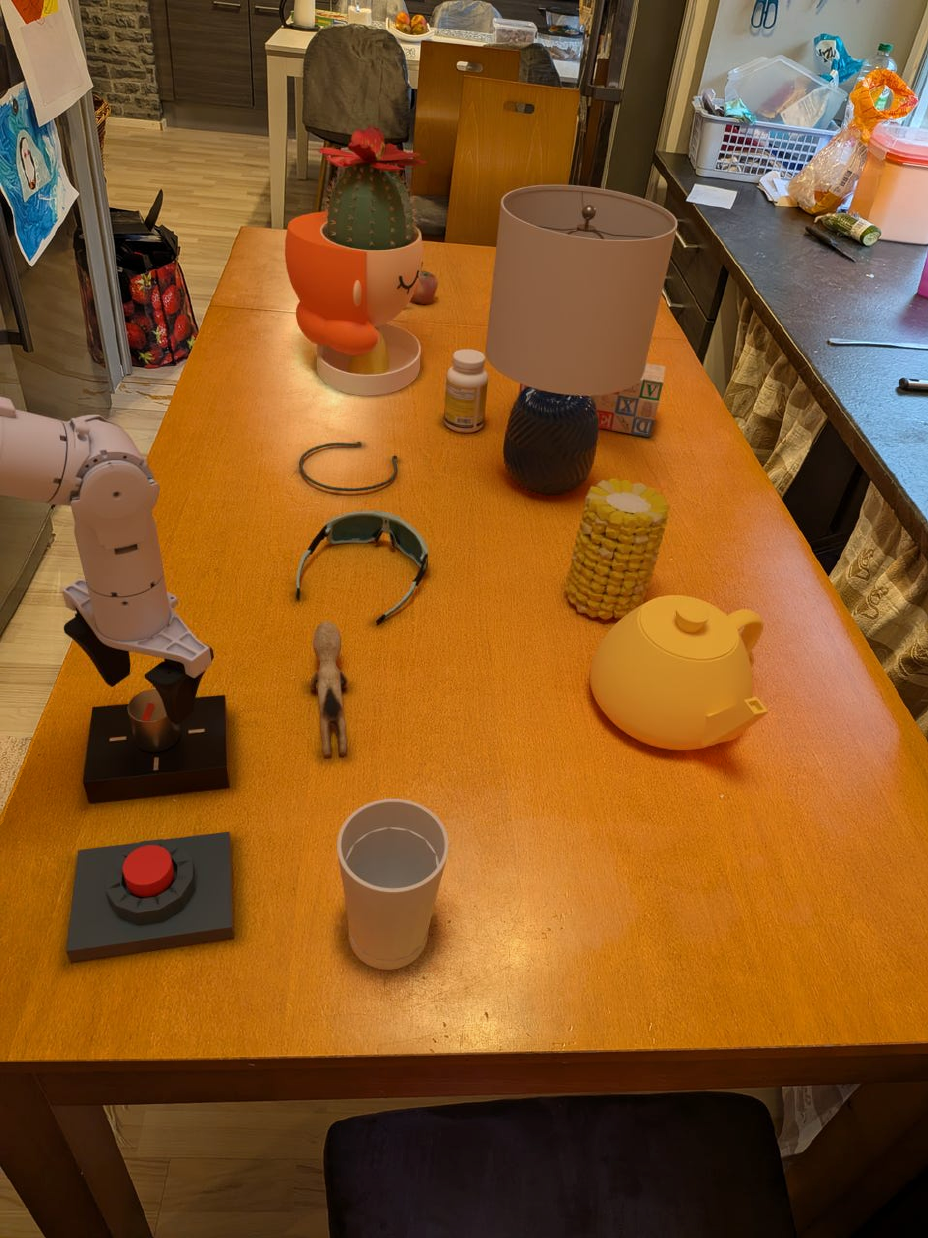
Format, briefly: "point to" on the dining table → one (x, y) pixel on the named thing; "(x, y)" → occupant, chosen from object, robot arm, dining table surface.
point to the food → (616, 548)
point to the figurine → (329, 686)
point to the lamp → (571, 318)
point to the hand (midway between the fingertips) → (149, 697)
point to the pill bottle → (466, 392)
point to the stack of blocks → (631, 404)
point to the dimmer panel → (156, 755)
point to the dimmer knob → (151, 722)
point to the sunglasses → (370, 529)
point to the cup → (391, 879)
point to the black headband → (343, 488)
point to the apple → (426, 288)
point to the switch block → (151, 900)
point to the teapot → (679, 673)
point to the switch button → (148, 871)
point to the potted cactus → (359, 270)
